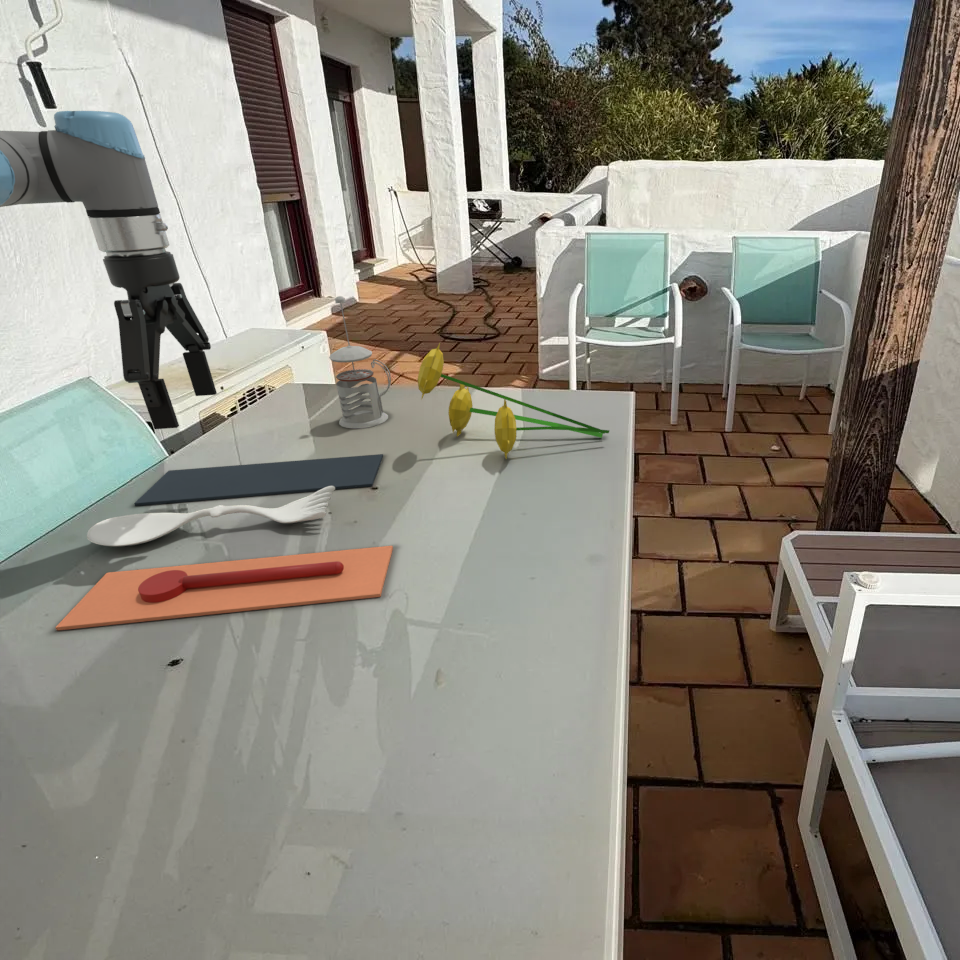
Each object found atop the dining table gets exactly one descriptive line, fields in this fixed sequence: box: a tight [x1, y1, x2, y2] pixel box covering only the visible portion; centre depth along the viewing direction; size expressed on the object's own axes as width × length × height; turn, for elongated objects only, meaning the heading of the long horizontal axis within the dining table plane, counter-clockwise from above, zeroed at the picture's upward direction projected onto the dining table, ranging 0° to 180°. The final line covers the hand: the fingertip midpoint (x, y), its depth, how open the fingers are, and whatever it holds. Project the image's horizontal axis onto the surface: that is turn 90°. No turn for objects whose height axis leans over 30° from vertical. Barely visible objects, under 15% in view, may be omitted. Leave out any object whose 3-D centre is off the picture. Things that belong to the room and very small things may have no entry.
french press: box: [328, 295, 392, 429], centre depth 126 cm, size 10×12×25 cm
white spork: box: [86, 486, 336, 547], centre depth 92 cm, size 9×32×4 cm, turn 102°
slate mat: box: [133, 453, 384, 507], centre depth 107 cm, size 36×12×1 cm, turn 99°
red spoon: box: [138, 561, 344, 603], centre depth 79 cm, size 24×5×2 cm, turn 99°
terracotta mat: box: [55, 545, 394, 631], centre depth 80 cm, size 36×11×1 cm, turn 99°
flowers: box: [417, 342, 610, 461], centre depth 117 cm, size 16×22×35 cm
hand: (188, 410), depth 90 cm, fingers open, 13 cm apart
